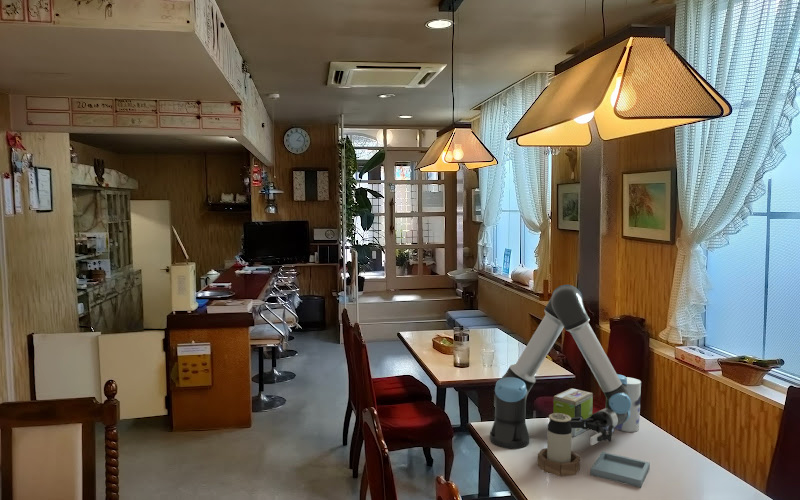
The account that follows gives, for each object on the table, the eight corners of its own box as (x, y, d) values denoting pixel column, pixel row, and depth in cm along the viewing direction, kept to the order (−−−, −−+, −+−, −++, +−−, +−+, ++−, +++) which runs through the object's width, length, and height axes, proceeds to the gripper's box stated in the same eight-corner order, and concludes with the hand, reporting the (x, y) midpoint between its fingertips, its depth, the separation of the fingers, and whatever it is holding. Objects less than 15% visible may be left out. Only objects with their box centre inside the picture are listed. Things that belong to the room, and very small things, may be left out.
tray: (590, 475, 196) (590, 468, 196) (602, 458, 210) (602, 451, 210) (640, 487, 188) (641, 480, 187) (649, 469, 201) (649, 462, 201)
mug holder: (533, 469, 200) (533, 458, 200) (546, 455, 211) (546, 444, 211) (572, 479, 193) (572, 467, 193) (583, 464, 204) (583, 453, 204)
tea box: (570, 421, 246) (571, 387, 245) (592, 427, 239) (594, 392, 238) (552, 430, 236) (553, 394, 235) (574, 437, 228) (575, 400, 227)
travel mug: (547, 471, 199) (549, 420, 198) (545, 461, 207) (547, 411, 205) (571, 473, 198) (573, 421, 196) (568, 462, 205) (570, 413, 204)
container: (641, 433, 234) (643, 384, 232) (615, 431, 236) (617, 382, 234) (636, 424, 243) (638, 377, 242) (611, 422, 245) (613, 375, 244)
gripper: (635, 440, 211) (606, 457, 196) (573, 421, 229) (543, 435, 214) (635, 420, 210) (607, 435, 196) (573, 402, 228) (543, 415, 214)
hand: (573, 435), depth 205 cm, fingers open, 13 cm apart
